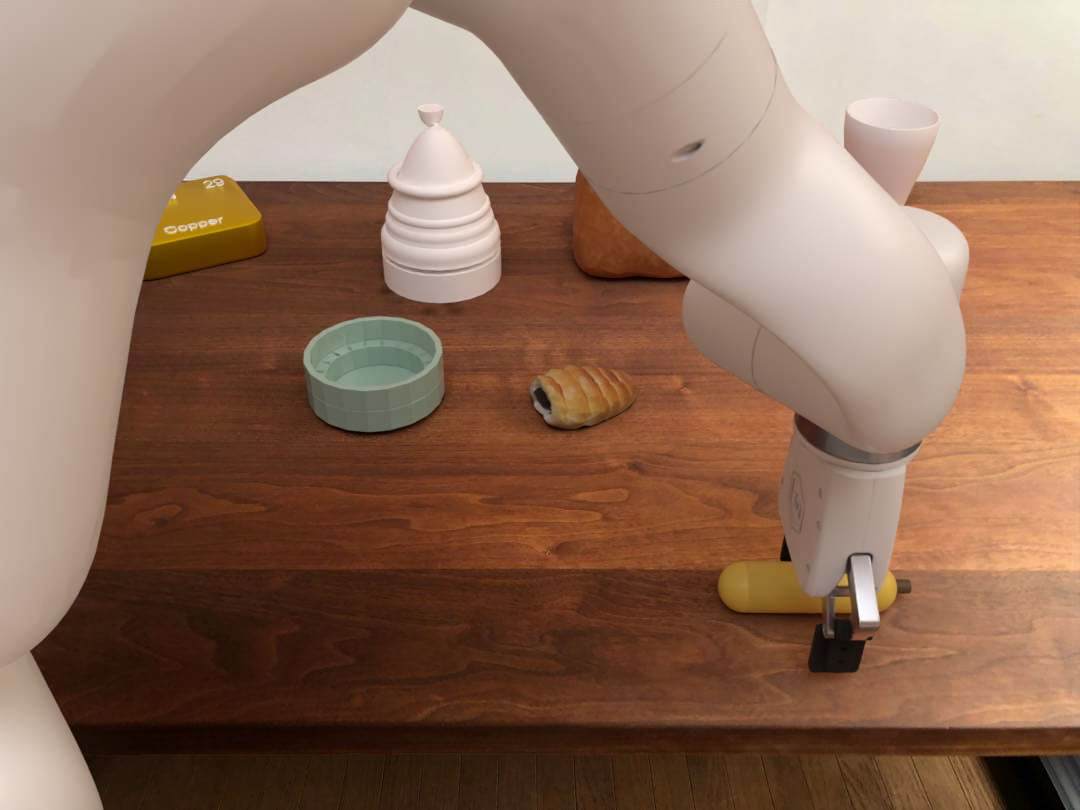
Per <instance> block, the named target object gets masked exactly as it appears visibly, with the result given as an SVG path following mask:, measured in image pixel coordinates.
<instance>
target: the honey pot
mask: <svg viewBox="0 0 1080 810" xmlns="http://www.w3.org/2000/svg"><path fill="white" fill-rule="evenodd" d="M417 111H418V115H419V118H420V120H421V122H422V123H423V124H424V125H425V126H427V128H424V129H423V130H422V131H421V132H420V133H419V134H418V135H417V136H416V138H415V139H414V140H413V142H412V144H411V146H410V147H409V149H408V151H407V153H406V155H405V157H404V159H402V160H400V161H398V162H396V163H395V164H393V165H392V166H391V167H390V169H389V170H388V172H387V174H386V178H387V179H386V180H387V183H388V185H389V186H390V187H391V189H392V190H393V191H392V194H391V197H390V198H389V200H388V202H387V211H386V213H385V217H384V218H385V219H384V220H385V221H384V223H383V225H382V227H381V231H380V241H381V252H382V253H381V254H382V267H383V277H384V282H385V284H386V286H387V288H388V289H389V290H391V291H392V292H393V293H394V294H396V295H397V296H400V297H402V298H405V299H406V300H407V299H408V300H412V301H415V302H421V303H428V304H449V303H459V302H462V301H463V302H464V301H467V300H472V299H474V298H477V297H480V296H483V295H484V294H486V293H488V292H489V291H491V290H493V289H494V288H495V287H496V285H497V284H498V283H499V282H500V280H501V276H502V246H501V243H502V242H501V234H502V233H501V230H500V225H499V222H498V221H497V219H496V218H495V214H494V211H493V208H492V207H491V201H490V197H489V195H488V194H487V193H486V191H485V189H484V187H483V184H482V183H483V180H484V177H485V174H484V169H483V167H481V165H480V164H478V162H476V161H474V160H472V159H471V158H470V156H469V155H468V153H467V151H466V150H465V148H464V146H463V145H462V143H461V142H460V141H459V139H458V138H457V137H456V136H455V135H454V134H453V133H452V132H451V131H449V130H448V129H447V128H445V127H443V126H441V125H440V122H441V121H442V119H443V116H444V106H443V105H441V104H438V103H425V104H421V105H419V106H418V107H417Z"/></svg>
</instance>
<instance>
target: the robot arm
mask: <svg viewBox="0 0 1080 810" xmlns="http://www.w3.org/2000/svg"><path fill="white" fill-rule="evenodd" d="M408 8H410V9H412V10H415V11H417V12H420V13H422V14H424V15H427V16H430V17H432V18H435V19H437V20H440V21H443V22H445V23H447V24H450V25H452V26H455V27H458V28H460V29H461V30H464V31H466V32H469V33H471V34H472V35H474V36H475V37H476V38H477V39H479V41H481V42H482V43H483V44H484V45H485V46H486V47H487V48H488V49H489V50H490V51H491V52H492V53H493V54H494V56H495V57H496V58H497V59H498V61H500V62H501V64H502V65H503V66H504V68H505V69H506V71H507V72H508V74H509V75H510V76H511V77H512V79H513V80H514V82H515V83H516V85H517V86H518V87H519V89H520V90H521V91H522V93H523V94H524V95H525V97H526V99H527V100H529V102H530V104H532V106H533V107H534V109H535V110H536V111H537V113H538V114H539V115H540V117H541V118H542V120H543V121H544V122H545V124H546V125H547V127H548V128H549V129H550V130H551V132H552V133H553V135H554V136H555V138H556V139H557V140H558V142H559V143H560V145H561V146H562V147H563V148H564V150H565V152H566V153H567V154H568V156H569V157H570V158H571V159H572V161H573V162H574V164H575V165H576V167H577V169H578V168H579V169H580V171H581V172H582V174H583V175H584V177H585V178H586V179H587V181H588V182H589V184H590V185H591V186H592V188H593V189H594V190H595V192H596V193H597V195H598V196H599V198H600V199H601V201H602V202H603V203H604V205H605V206H606V207H607V209H608V210H609V211H610V213H611V214H612V215H613V217H614V218H615V219H616V220H618V221H619V222H620V223H621V224H622V225H623V226H624V227H625V228H626V229H627V230H628V231H629V232H630V233H632V234H633V235H634V236H636V237H637V238H638V239H639V240H640V241H641V242H642V243H643V244H645V245H646V246H647V247H648V248H650V249H651V250H652V251H653V252H655V253H656V254H657V255H658V256H659V257H660V258H662V259H663V260H664V261H665V262H667V263H668V264H669V265H671V266H672V267H674V268H675V269H676V270H678V271H679V272H681V273H682V274H684V275H685V276H684V277H686V278H688V279H689V282H688V284H687V286H686V288H685V291H684V294H683V296H682V302H681V319H682V325H683V326H682V327H683V329H684V331H685V334H686V336H687V337H688V340H689V341H690V343H691V344H692V345H693V347H694V348H695V350H697V351H698V352H699V353H700V354H701V355H702V356H703V357H704V358H706V360H708V361H710V362H711V363H713V364H714V365H715V366H717V367H719V369H722V370H723V371H725V372H726V373H728V374H730V375H731V376H733V377H735V378H736V379H738V380H739V381H741V382H743V383H745V384H747V385H748V386H750V387H751V388H753V389H754V390H756V391H758V392H760V393H761V394H763V395H765V396H768V397H769V398H771V399H773V400H775V401H776V402H778V403H780V404H781V405H783V406H785V407H786V408H788V409H789V410H791V411H792V412H794V414H793V420H792V430H793V431H792V434H791V438H790V442H789V447H788V450H787V455H786V458H785V463H784V467H783V471H782V476H781V480H780V485H779V488H778V489H779V490H778V495H777V507H778V514H779V515H778V516H779V520H780V524H781V528H782V530H783V536H782V537H783V538H782V543H781V548H780V554H779V560H780V561H792V563H793V567H794V570H795V574H796V577H797V580H798V583H799V585H800V587H801V589H802V590H803V591H804V593H805V594H806V595H807V596H809V597H811V598H814V597H819V598H822V613H821V623H818V624H817V623H815V628H814V633H813V637H812V641H811V646H810V650H809V654H808V661H807V666H808V671H809V672H810V673H813V674H830V673H831V674H851V673H852V674H853V673H856V672H858V671H859V670H860V666H861V662H862V658H863V654H864V651H865V646H866V643H867V641H872V640H873V638H874V636H875V635H876V634H877V632H879V631H880V628H881V619H880V612H879V611H878V604H877V597H876V595H877V594H878V593H879V591H880V590H881V588H882V586H883V583H884V581H885V578H886V575H887V572H888V570H889V568H890V565H891V560H892V556H893V552H894V548H895V542H896V538H897V533H898V528H899V522H900V517H901V510H902V505H903V500H904V499H903V498H904V491H905V484H906V476H907V464H908V463H910V462H912V460H914V459H915V458H916V457H917V455H918V454H919V452H920V451H921V448H922V443H923V441H924V439H926V438H927V437H928V436H929V435H931V434H932V433H933V432H935V431H936V429H937V428H938V427H939V426H940V425H941V424H942V423H943V421H944V420H945V419H946V417H947V416H948V414H949V413H950V411H951V409H952V408H953V406H954V404H955V402H956V401H957V398H958V396H959V393H960V390H961V387H962V384H963V381H964V376H965V372H966V365H967V354H968V353H967V336H966V335H967V334H966V330H965V323H964V318H963V315H962V311H961V306H960V301H961V298H962V293H963V290H964V286H965V283H966V279H967V275H968V270H969V265H970V261H971V259H970V258H971V257H970V247H969V243H968V240H967V239H966V237H965V235H964V233H963V232H962V231H961V230H960V228H959V227H957V226H956V225H955V224H954V223H953V222H951V221H950V220H949V219H948V218H946V217H944V216H942V215H940V214H938V213H935V212H932V211H930V210H926V209H923V208H919V207H915V206H910V205H904V206H903V205H899V204H898V203H897V202H896V201H895V200H894V199H893V198H892V197H891V196H890V195H889V194H888V193H887V192H886V191H885V190H884V189H883V188H882V187H881V186H880V185H879V184H878V183H877V182H876V181H875V180H874V179H873V178H872V177H871V176H870V175H869V174H868V173H867V172H866V171H865V169H864V168H863V167H862V166H861V165H860V164H859V163H858V162H857V161H856V160H855V159H854V158H853V157H852V156H851V154H850V153H849V152H848V151H847V150H846V149H845V148H844V145H842V143H841V142H839V140H838V139H837V138H835V136H834V135H833V134H832V133H831V132H830V131H829V130H828V129H827V128H825V127H824V126H823V125H822V124H821V123H820V122H819V121H818V120H817V119H816V118H815V117H813V116H812V115H811V114H810V113H809V111H807V110H806V109H805V108H804V107H803V106H802V105H801V104H800V103H799V102H798V101H797V99H796V98H795V96H794V94H793V93H792V92H791V91H792V90H791V89H790V87H789V85H788V84H787V81H786V80H785V77H784V75H783V72H782V70H781V67H780V65H779V63H778V60H777V58H776V56H775V53H774V50H773V48H772V46H771V44H770V41H769V39H768V37H767V35H766V32H765V30H764V27H763V25H762V23H761V21H760V18H759V16H758V13H757V12H756V9H755V7H754V4H753V2H752V0H0V810H105V809H104V807H103V802H102V800H101V797H100V793H99V791H98V788H97V786H96V782H95V781H94V778H93V776H92V773H91V771H90V769H89V766H88V764H87V762H86V760H85V757H84V755H83V753H82V751H81V748H80V747H79V745H78V743H77V740H76V738H75V736H74V735H73V732H72V730H71V728H70V727H69V724H68V722H67V721H66V719H65V717H64V715H63V713H62V711H61V709H60V707H59V705H58V703H57V701H56V699H55V697H54V695H53V693H52V691H51V689H50V688H49V686H48V684H47V681H46V680H45V677H44V676H43V673H42V672H41V670H40V667H39V666H38V664H37V661H36V660H35V658H34V656H33V654H32V652H31V651H32V650H33V649H35V647H36V646H38V645H39V644H40V643H41V642H43V641H44V640H45V639H46V638H47V636H48V635H50V634H51V632H53V630H54V629H55V628H56V627H57V626H58V625H59V623H60V622H61V621H62V620H63V618H64V617H65V616H66V614H67V613H68V612H69V610H70V609H71V607H72V605H73V604H74V602H75V601H76V599H77V598H78V596H79V594H80V591H81V589H82V587H83V586H84V583H85V582H86V580H87V577H88V576H89V575H88V574H89V572H90V569H91V567H92V565H93V561H94V559H95V556H96V553H97V548H98V544H99V540H100V535H101V531H102V527H103V523H104V518H105V512H106V507H107V501H108V493H109V487H110V478H111V473H112V472H111V471H112V463H113V456H114V450H115V444H116V436H117V430H118V424H119V419H120V412H121V406H122V400H123V399H122V398H123V393H124V392H123V391H124V386H125V380H126V372H127V366H128V359H129V354H130V347H131V340H132V335H133V329H134V323H135V322H134V321H135V316H136V310H137V305H138V302H139V298H140V292H141V290H142V285H143V281H144V280H143V277H144V273H145V269H146V264H147V260H148V256H149V252H150V249H151V246H152V243H153V239H154V236H155V233H156V230H157V227H158V224H159V222H160V220H161V218H162V215H163V213H164V211H165V209H166V207H167V204H168V202H169V200H170V199H171V197H172V195H173V194H174V193H175V191H176V190H177V188H178V187H179V185H180V184H181V183H182V182H184V180H185V179H186V177H187V176H188V174H189V173H190V171H191V170H192V169H193V168H194V167H195V166H196V164H197V163H199V161H200V160H202V158H203V157H204V156H205V155H207V153H208V152H210V150H211V149H212V148H214V146H215V145H216V144H217V143H218V142H219V141H221V140H222V139H223V138H224V137H225V136H227V135H228V134H230V133H231V132H232V131H234V130H235V129H236V128H237V127H239V126H240V125H241V124H243V123H244V122H245V121H247V120H248V119H250V118H251V117H253V116H254V115H255V114H257V113H259V112H260V111H262V110H263V109H265V108H267V107H268V106H271V104H273V103H275V102H277V101H279V100H281V99H282V98H285V97H287V96H288V95H290V94H292V93H294V92H296V91H297V90H299V89H302V88H304V87H306V86H308V85H311V84H312V83H314V82H316V81H318V80H320V79H322V78H325V77H327V76H329V75H331V74H333V73H334V72H337V71H338V70H341V69H343V68H344V67H346V66H348V65H350V63H352V62H353V61H355V60H356V59H358V58H360V57H361V56H362V55H364V54H365V53H366V52H368V51H369V50H371V49H372V48H373V47H374V46H375V45H376V44H377V43H378V42H379V41H381V39H382V38H383V37H385V35H386V34H388V32H390V31H391V30H392V29H393V28H394V26H395V25H396V24H397V23H398V22H399V20H400V19H401V18H402V17H403V15H404V14H405V12H407V10H408ZM844 574H847V579H848V585H837V584H838V583H839V582H840V581H841V579H842V578H843V577H844ZM835 597H850V601H851V613H850V614H849V616H848V617H836V613H835Z"/></svg>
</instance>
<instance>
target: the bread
mask: <svg viewBox="0 0 1080 810" xmlns="http://www.w3.org/2000/svg"><path fill="white" fill-rule="evenodd" d="M572 249H573V255H574V260H575V262H576V263H577V266H578V267H579V268H580V269H581V270H582V271H583V272H584V273H586V274H588V275H590V276H593V277H599V278H607V279H608V278H609V279H625V278H630V277H636V276H637V277H645V278H656V279H657V278H659V279H669V278H671V279H672V278H681V277H686V276H685V275H684V274H682V273H681V272H679V271H678V270H676V269H675V268H674V267H672V266H671V265H669V264H668V263H667V262H665V261H664V260H663V259H662V258H660V257H659V256H658V255H657V254H656V253H655V252H653V251H652V250H651V249H650V248H648V247H647V246H646V245H645V244H643V243H642V242H641V241H640V240H639V239H638V238H637V237H636V236H634V235H633V234H632V233H630V232H629V231H628V230H627V229H626V228H625V227H624V226H623V225H622V224H621V223H620V222H619V221H618V220H616V219H615V218H614V217H613V215H612V214H611V213H610V211H609V210H608V209H607V207H606V206H605V205H604V203H603V202H602V201H601V199H600V198H599V196H598V195H597V193H596V192H595V190H594V189H593V188H592V186H591V185H590V184H589V182H588V181H587V179H586V178H585V177H584V175H583V174H582V172H581V171H580V169H579V168H578V167H577V172H576V175H575V183H574V193H573V212H572Z"/></svg>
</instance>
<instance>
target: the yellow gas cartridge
mask: <svg viewBox="0 0 1080 810" xmlns="http://www.w3.org/2000/svg"><path fill="white" fill-rule="evenodd" d="M837 585H848V579H847V574H844V577H843V578H842V579H841V581H840V582H839V583H838V584H837ZM912 589H913V588H912V582H911V580H910V579H908V578H907V579H905V578H903V579H902V578H895V576H894V573H892V572H891V570H890V569H888V572H887V575H886V578H885V581H884V583H883V586H882V588H881V590H880V591H879V593H878V594H877V595H876V597H877V604H878V611H879V613H882V612H884V611H885V610H887V609H888V608H890V607H891V606H892V604H893V603H894V602H895V600H896V597H897V594H900V595H901V594H903V595H909V594H911V592H912ZM717 592H718V596H719V598H720V599H721V601H722V603H724V605H725V606H726V607H727V608H729V609H730V610H732V611H734V612H737V613H742V614H822V598H819V597H814V598H811V597H809V596H807V595H806V594H805V593H804V591H803V590H802V589H801V587H800V585H799V583H798V580H797V577H796V574H795V570H794V567H793V563H792V561H779V560H777V561H772V560H770V561H769V560H767V561H763V560H761V561H759V560H749V561H748V560H743V561H736V562H733V563H731V564H729V565H727V566H726V567H725V568H724V569H723V570H722V572H721V573H720V575H719V577H718V582H717ZM835 614H851V601H850V597H835Z"/></svg>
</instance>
